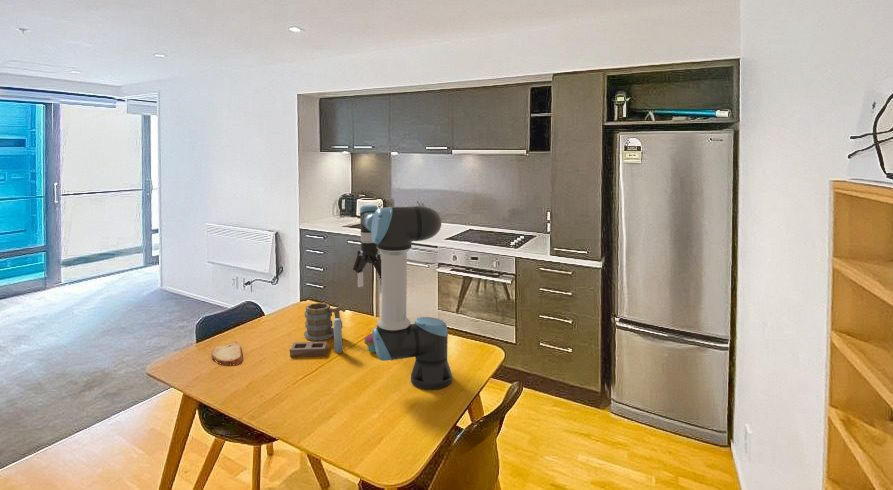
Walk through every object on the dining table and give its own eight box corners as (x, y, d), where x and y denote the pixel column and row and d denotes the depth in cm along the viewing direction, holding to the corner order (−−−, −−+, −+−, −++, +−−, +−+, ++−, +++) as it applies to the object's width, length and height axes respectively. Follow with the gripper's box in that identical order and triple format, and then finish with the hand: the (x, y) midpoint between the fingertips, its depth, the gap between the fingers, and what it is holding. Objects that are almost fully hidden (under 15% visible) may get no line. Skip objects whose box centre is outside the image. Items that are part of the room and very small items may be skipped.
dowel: (341, 352, 208) (340, 320, 205) (334, 352, 207) (332, 320, 205) (342, 349, 211) (341, 318, 208) (335, 350, 210) (333, 318, 208)
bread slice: (236, 367, 194) (235, 358, 194) (196, 363, 198) (195, 354, 197) (262, 349, 212) (261, 341, 211) (224, 346, 215) (223, 338, 214)
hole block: (325, 355, 205) (324, 348, 204) (290, 356, 203) (289, 349, 203) (327, 348, 212) (327, 341, 212) (294, 349, 211) (293, 342, 211)
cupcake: (386, 346, 214) (386, 320, 212) (382, 354, 206) (381, 326, 204) (367, 345, 215) (366, 319, 213) (361, 353, 207) (361, 326, 205)
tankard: (299, 338, 223) (297, 306, 220) (314, 329, 235) (313, 298, 232) (339, 343, 217) (337, 311, 215) (352, 334, 229) (351, 302, 227)
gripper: (396, 243, 208) (397, 292, 212) (357, 237, 223) (358, 282, 227) (383, 246, 202) (384, 296, 206) (344, 239, 218) (345, 286, 221)
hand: (371, 289), depth 216 cm, fingers open, 13 cm apart
